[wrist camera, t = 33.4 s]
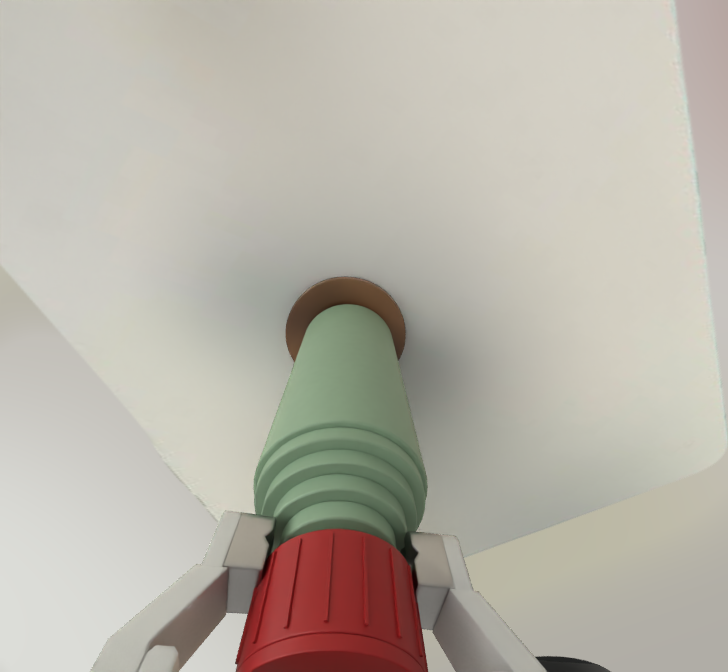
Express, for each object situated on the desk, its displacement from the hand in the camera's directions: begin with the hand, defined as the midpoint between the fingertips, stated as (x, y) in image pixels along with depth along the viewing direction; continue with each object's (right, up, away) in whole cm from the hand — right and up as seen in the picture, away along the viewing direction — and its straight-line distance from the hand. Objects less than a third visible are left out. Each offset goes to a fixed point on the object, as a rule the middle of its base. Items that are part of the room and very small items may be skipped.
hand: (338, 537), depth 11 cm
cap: (0, -2, -3) cm, 4 cm away
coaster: (0, +6, +15) cm, 16 cm away
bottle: (0, +5, +14) cm, 15 cm away
